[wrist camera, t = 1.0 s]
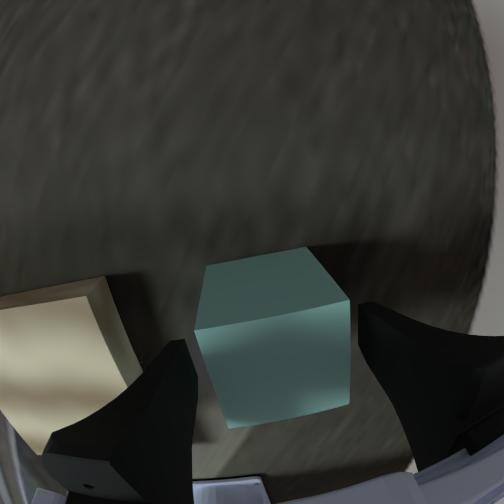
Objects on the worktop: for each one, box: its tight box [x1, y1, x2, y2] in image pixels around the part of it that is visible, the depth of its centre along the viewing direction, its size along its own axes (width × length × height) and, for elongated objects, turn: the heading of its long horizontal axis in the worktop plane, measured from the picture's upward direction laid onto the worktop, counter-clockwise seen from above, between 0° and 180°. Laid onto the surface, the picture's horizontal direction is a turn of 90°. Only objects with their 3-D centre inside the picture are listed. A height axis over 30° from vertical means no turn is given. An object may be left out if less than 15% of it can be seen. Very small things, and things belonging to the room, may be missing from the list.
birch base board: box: [0, 276, 143, 455], centre depth 15 cm, size 14×14×2 cm
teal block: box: [194, 247, 351, 428], centre depth 13 cm, size 5×5×6 cm
